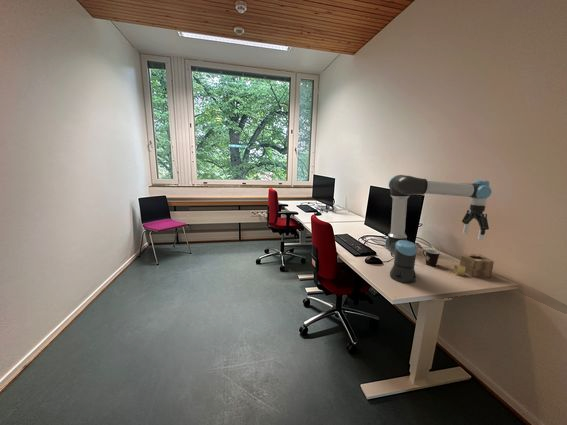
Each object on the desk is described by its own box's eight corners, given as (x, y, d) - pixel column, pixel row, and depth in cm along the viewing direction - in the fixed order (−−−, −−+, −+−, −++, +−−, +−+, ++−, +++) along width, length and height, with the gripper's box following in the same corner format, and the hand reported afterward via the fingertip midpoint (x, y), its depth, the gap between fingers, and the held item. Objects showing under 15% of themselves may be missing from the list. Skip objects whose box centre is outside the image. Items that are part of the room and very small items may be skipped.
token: (456, 275, 154) (457, 266, 152) (453, 273, 157) (454, 264, 155) (464, 275, 153) (465, 266, 152) (461, 273, 156) (462, 265, 155)
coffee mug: (440, 267, 165) (442, 254, 163) (426, 266, 166) (428, 253, 164) (433, 261, 176) (434, 248, 174) (420, 260, 178) (422, 247, 176)
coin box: (471, 276, 152) (474, 260, 150) (459, 268, 163) (461, 253, 161) (490, 277, 151) (493, 261, 149) (476, 269, 163) (479, 254, 161)
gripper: (500, 208, 137) (494, 242, 141) (469, 201, 162) (465, 231, 166) (487, 207, 138) (481, 242, 142) (458, 201, 162) (454, 230, 166)
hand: (472, 236), depth 154 cm, fingers open, 13 cm apart
